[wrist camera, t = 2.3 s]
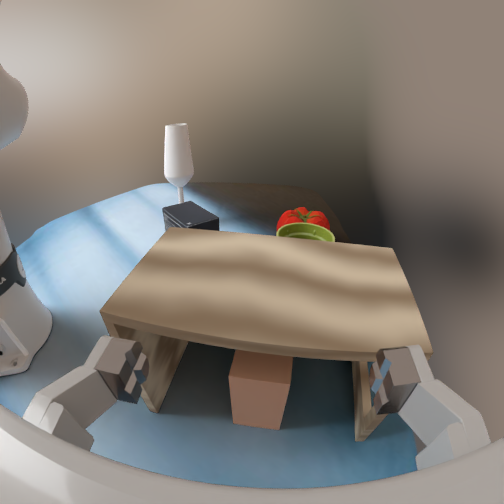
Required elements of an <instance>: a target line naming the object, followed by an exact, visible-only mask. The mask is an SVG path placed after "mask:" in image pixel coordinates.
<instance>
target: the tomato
mask: <svg viewBox="0 0 504 504" xmlns="http://www.w3.org/2000/svg"><path fill="white" fill-rule="evenodd" d="M312 211H313V210H312ZM312 211H310V212H309V211H308V210H307V209H306V208H304V207H300V208H297V209H295V210H294V211H293V210H289V211H286V212H285V213H283V214H282V216H281V218H280V220H279V221H278V224H277V231H278V229H279V228H281V227H282V226H284V225H287V224H291V223H311V224H315V225H319V226H321V227H324V228H326V229H327V230H329V231H330V225H329V222H328V220H327V218H326V217H325V215H324V214H323V213H322V212H319V211H313V212H312Z"/></svg>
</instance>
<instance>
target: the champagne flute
mask: <svg viewBox="0 0 504 504" xmlns="http://www.w3.org/2000/svg"><path fill="white" fill-rule="evenodd" d="M164 155H165V156H164V160H165V161H164V175H165V177H166V179H167V180H168V181H169V182H170V183H172V184H173V185H174V186H176V187H178V197H179V204H180V203H184V197H183V186H184V185H186V183H187V182H188V181H189V180H190V179H191V177H192V176H193V173H194V169H193V163H192V155H191V148H190V142H189V134H188V127H187V124H172V125H167V126H165V154H164Z"/></svg>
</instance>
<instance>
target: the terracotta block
mask: <svg viewBox="0 0 504 504" xmlns="http://www.w3.org/2000/svg"><path fill="white" fill-rule="evenodd" d="M292 363H293V357H292V356H283V355H274V354H266V353H258V352H251V351H244V350H237V349H236V351H235V355H234V358H233V362H232V365H231V369H230V372H229V387H230V397H231V407H232V416H233V424H239V425H245V426H252V427H259V428H266V429H274V430H279V429H280V425H281V421H282V417H283V413H284V409H285V405H286V401H287V396H288V392H289V388H290V383H291V373H292Z"/></svg>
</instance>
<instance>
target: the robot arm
mask: <svg viewBox="0 0 504 504" xmlns="http://www.w3.org/2000/svg"><path fill="white" fill-rule="evenodd" d="M0 3H1V0H0ZM27 115H28V98H27V94H26V91H25V89H24V87H23V86H22V84H21V83H20V82H19V81H18V80H17V79H15V78H13V77H12V76H10V75H9V74H8V73H7V72H6V71H5V70H4V69H3V67H2V66H1V64H0V150H1V149H2V148H4V147H5V146H7V145H8V144H10V143H11V142H13V141H14V140H16V139H17V138H18V137H19V136H20V134H21V132H22V130H23V128H24V126H25V123H26V120H27ZM51 328H52V315H51V313H50V311H49V310H48V309H47V308H46V307H45V306H44V305H43V303H42V302H41V301H40V300H39V298H38V297H37V296H36V294H35V293H34V291H33V290H32V288H31V286H30V285H29V283H28V281H27V279H26V274H25V270H24V268H23V265H22V262H21V260H20V257H19V255H18V254H17V252H16V249H15V247H14V245H13V244H12V243H11V242H10V239H9V237H8V233H7V230H6V228H5V224H4V221H3V218H2V214H1V211H0V376H5V375H11V374H16V373H21V372H24V371H26V370H27V369H28V367H29V365H30V363H31V361H32V358H33V356H34V355H35V353H36V352H37V351H38V350H39V349H40V348H41V347H42V345H43V344H44V343H45V341H46V340H47V338H48V336H49V334H50V331H51ZM142 350H143V347H142V345H141V343H140V342H138V341H133V340H127V339H122V338H116V337H111V336H105V335H103V336H102V337H100V338H99V340H98V342H97V343H96V345H95V347H94V348H93V350H92V352H91V353H90V355H89V357H88V358H87V360H86V362H85V363H84V365H83V366H78V367H77V368H75V369H74V370H72V371H70V372H69V373H67V374H65V375H64V376H62V377H61V378H59V379H57V380H56V381H54V382H53V383H51V384H49V385H48V386H46V387H44V388H43V389H41V390H40V391H38V392H36V394H35V396H34V397H33V399H32V401H31V403H30V404H29V406H28V408H27V410H26V412H25V413H24V415H23V417H22V418H21V417H20V416H18V415H16V414H15V413H13V412H12V411H10V410H9V409H7V408H5V407H4V406H2V405H1V404H0V504H504V437H503V438H500V439H498V440H496V441H494V442H492V443H491V441H490V438H489V435H488V432H487V429H486V427H485V423H484V421H483V418H482V415H481V413H480V412H478V411H477V410H476V409H475V408H474V407H472V406H471V405H470V404H469V403H467V402H466V401H465V400H464V399H462V398H461V397H460V396H459V395H457V394H456V393H455V392H454V391H452V390H451V389H450V388H449V387H447V386H446V385H445V384H443V383H442V382H441V381H439V380H438V379H437V380H435V379H434V377H433V374H432V372H431V369H430V367H429V364H428V362H427V360H426V357H425V355H424V353H423V350H422V348H421V346H420V345H411V346H400V347H391V348H381V349H379V350H378V351H377V354H376V359H377V361H376V362H374V363H373V364H372V366H371V369H370V375H369V381H370V387H371V390H372V391H373V392H375V393H376V395H375V397H374V399H373V402H374V406H375V411H376V415H381V414H389V413H396V412H398V414H399V415H400V416H401V417H402V419H403V420H404V421H405V422H406V423H407V424H408V425H409V426H410V428H411V429H412V430H413V431H414V432H415V433H416V434H417V436H418V437H419V438H420V439H421V440H422V441H423V442H424V443H425V445H426V447H425V448H424V449H423V450H422V451H421V452H420V453H418V455H417V456H416V457H415V458H416V463H417V469H418V471H414V472H410V473H406V474H402V475H398V476H394V477H389V478H384V479H379V480H374V481H368V482H362V483H355V484H348V485H340V486H330V487H317V488H293V489H273V488H249V487H236V486H226V485H218V484H210V483H203V482H197V481H191V480H186V479H181V478H176V477H171V476H167V475H162V474H158V473H154V472H150V471H147V470H143V469H139V468H136V467H133V466H129V465H126V464H123V463H120V462H117V461H114V460H111V459H108V458H105V457H103V456H100V455H97V454H95V453H92V452H90V449H91V447H92V444H93V441H94V439H93V436H92V435H91V434H89V433H88V432H87V431H86V430H85V429H86V428H87V427H88V426H89V425H90V424H92V423H93V422H94V421H95V420H96V419H97V418H98V417H100V416H101V415H102V414H103V413H104V412H105V411H106V410H108V409H109V408H110V407H111V406H112V405H113V404H115V403H116V402H117V400H120V401H125V402H129V403H134V404H137V402H138V400H139V397H140V395H141V392H142V387H141V384H142V383H143V382H145V381H146V380H147V377H148V374H149V361H148V359H147V356H145V355H144V354H143V353H142Z"/></svg>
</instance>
